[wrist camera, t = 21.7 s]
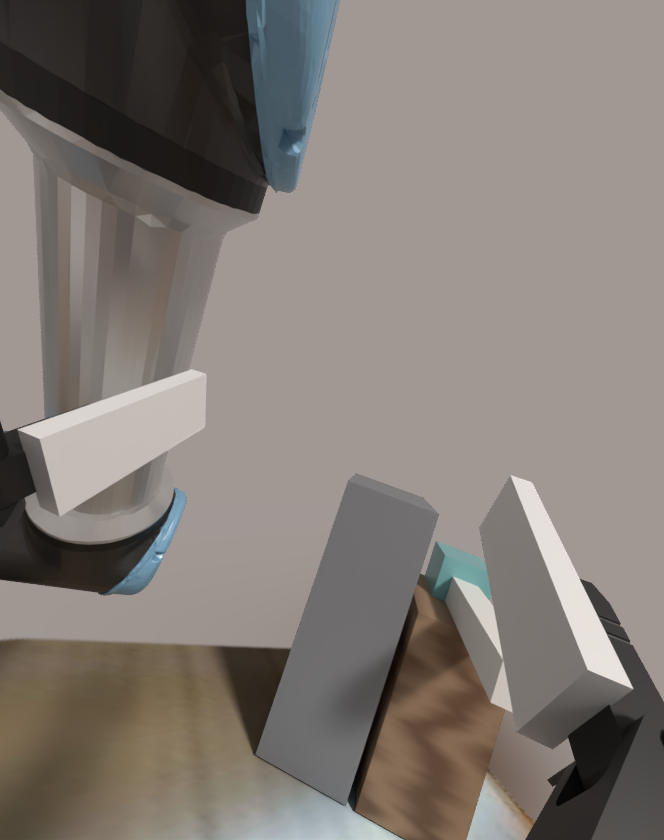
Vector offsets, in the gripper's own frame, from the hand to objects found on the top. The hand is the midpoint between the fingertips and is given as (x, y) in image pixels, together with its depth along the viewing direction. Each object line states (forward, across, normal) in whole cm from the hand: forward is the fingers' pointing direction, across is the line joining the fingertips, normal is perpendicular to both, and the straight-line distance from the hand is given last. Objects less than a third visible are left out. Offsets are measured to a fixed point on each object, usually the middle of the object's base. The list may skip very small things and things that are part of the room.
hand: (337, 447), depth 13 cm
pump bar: (+12, +16, -23) cm, 30 cm away
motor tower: (+7, +4, -43) cm, 43 cm away
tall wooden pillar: (+7, +16, -43) cm, 46 cm away
